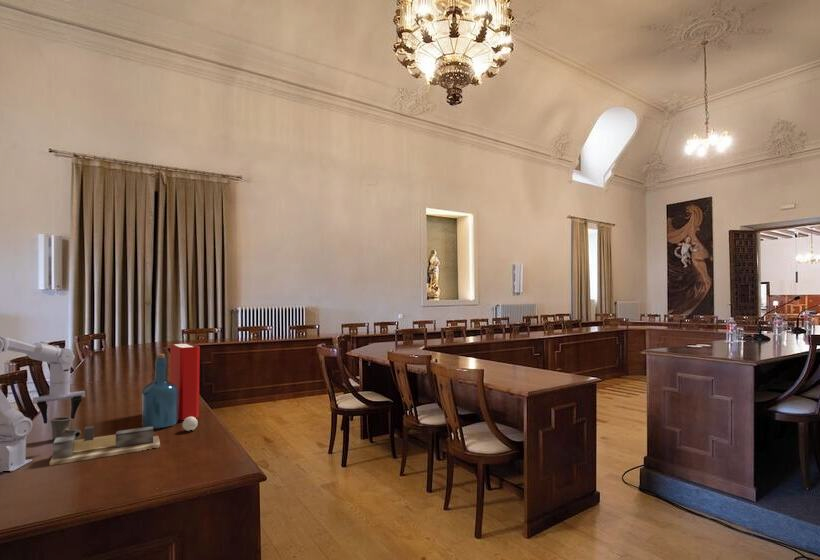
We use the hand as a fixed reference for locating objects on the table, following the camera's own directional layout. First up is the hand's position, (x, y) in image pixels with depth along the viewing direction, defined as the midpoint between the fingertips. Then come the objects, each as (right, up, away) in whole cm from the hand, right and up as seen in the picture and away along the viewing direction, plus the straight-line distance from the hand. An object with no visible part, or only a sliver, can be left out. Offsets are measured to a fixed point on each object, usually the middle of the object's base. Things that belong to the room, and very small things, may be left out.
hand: (59, 420), depth 157 cm
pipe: (-7, -11, +11) cm, 17 cm away
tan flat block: (+16, -8, -3) cm, 18 cm away
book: (+19, -13, +49) cm, 54 cm away
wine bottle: (+19, -12, +29) cm, 37 cm away
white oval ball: (+37, -11, +22) cm, 44 cm away
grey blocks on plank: (+19, -10, -2) cm, 21 cm away
